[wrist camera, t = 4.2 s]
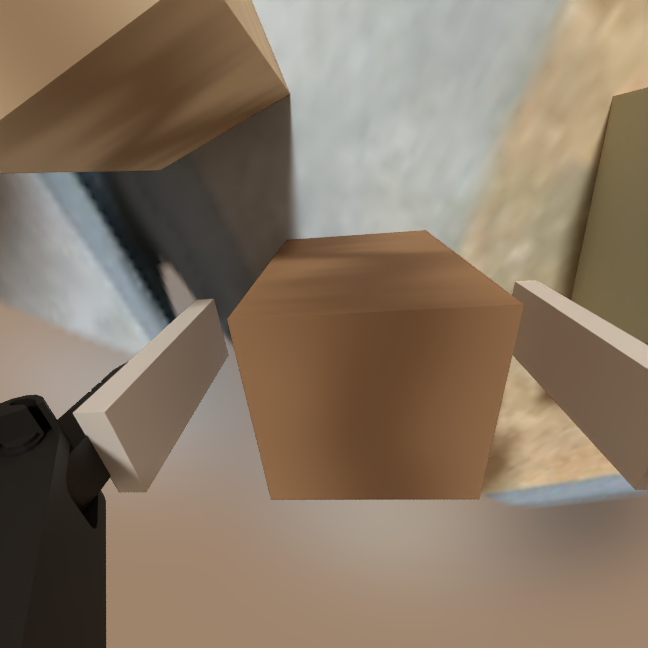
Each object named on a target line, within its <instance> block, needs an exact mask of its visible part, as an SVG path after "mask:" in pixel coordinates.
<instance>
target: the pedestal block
mask: <svg viewBox="0 0 648 648" xmlns="http://www.w3.org/2000/svg"><path fill="white" fill-rule="evenodd" d="M571 301H573V302H575V303H576V304H578V305H580V306H581V307H583V308H585V309H587V310H588V311H590V312H592V313H593V314H595V315H597V316H599V317H600V318H602V319H604V320H605V321H607V322H609V323H611V324H612V325H614V326H616V327H617V328H619V329H621V330H623V331H624V332H626V333H628V334H629V335H631V336H633V337H635V338H636V339H638V340H640V341H642V342H645V343H647V344H648V88H644V89H640V90H636V91H632V92H628V93H624V94H621V95H617V96H613V100H612V104H611V109H610V114H609V119H608V124H607V129H606V133H605V138H604V143H603V148H602V153H601V157H600V162H599V167H598V172H597V177H596V182H595V186H594V191H593V196H592V201H591V206H590V211H589V215H588V220H587V225H586V230H585V235H584V239H583V244H582V249H581V254H580V259H579V264H578V268H577V273H576V278H575V283H574V288H573V292H572V297H571Z"/></svg>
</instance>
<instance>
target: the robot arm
mask: <svg viewBox="0 0 648 648" xmlns="http://www.w3.org/2000/svg"><path fill="white" fill-rule="evenodd" d="M512 296H513V297H515V298H516V299H517V300H519V301H520V302H521V303H523V304H524V306H523V310H522V315H521V319H520V324H519V328H518V332H517V337H516V341H515V345H514V350H513V354H512V355H513V356H514V357H515V358H516V359H517V360H518V361H519V362H520V364H521V365H522V366H523V367H524V368H525V369H526V370H527V371H528V372H529V373H530V375H531V376H532V377H533V378H534V379H535V380H536V381H537V382H538V383H539V384H540V386H541V387H542V388H543V389H544V390H545V391H546V392H547V393H548V394H549V395H550V397H551V398H552V399H553V400H554V401H555V402H556V403H557V404H558V405H559V406H560V408H561V409H562V410H563V411H564V412H565V413H566V414H567V415H568V416H569V417H570V419H571V420H572V421H573V422H574V423H575V424H576V425H577V426H578V427H579V428H580V430H581V431H582V432H583V433H584V434H585V435H586V436H587V437H588V438H589V439H590V441H591V442H592V443H593V444H594V445H595V446H596V447H597V448H598V449H599V450H600V452H601V453H602V454H603V455H604V456H605V457H606V458H607V459H608V460H609V461H610V463H611V464H612V465H613V466H614V467H615V468H616V469H617V470H618V471H619V472H620V474H621V475H622V476H623V477H624V478H625V479H626V480H627V481H628V482H629V483H630V485H631V486H632V487H633V488H634V489H635V490H645V489H648V344H647V343H645V342H642V341H640V340H638V339H636V338H635V337H633V336H631V335H629V334H628V333H626V332H624V331H623V330H621V329H619V328H617V327H616V326H614V325H612V324H611V323H609V322H607V321H605V320H604V319H602V318H600V317H599V316H597V315H595V314H593V313H592V312H590V311H588V310H587V309H585V308H583V307H581V306H580V305H578V304H576V303H575V302H573V301H571V300H569V299H568V298H566V297H564V296H563V295H561V294H559V293H557V292H556V291H554V290H552V289H551V288H549V287H547V286H545V285H544V284H542V283H540V282H539V281H537V280H530V281H515V284H514V289H513V294H512ZM227 357H228V351H227V347H226V343H225V340H224V336H223V332H222V328H221V324H220V320H219V316H218V313H217V309H216V305H215V301H214V299H201V300H195V301H194V302H193V303H192V304H191V305H190V306H189V307H188V308H187V309H185V311H183V312H182V313H181V314H180V315H179V316H178V317H177V318H176V319H175V320H173V321H172V322H171V323H170V324H169V325H168V326H167V327H166V328H165V329H164V330H163V331H161V332H160V333H159V334H158V335H157V336H156V337H155V338H154V339H153V340H152V341H151V342H149V343H148V344H147V345H146V346H145V347H144V348H143V349H142V350H141V351H140V352H139V353H137V354H136V355H135V356H134V357H133V358H132V359H131V360H130V361H128V362H126V363H125V364H123V365H121V366H119V367H118V368H116V369H114V370H113V371H112V372H111V373H109V375H107V376H106V377H105V378H104V379H103V380H102V381H101V383H98V384H97V385H96V386H95V387H94V388H93V389H92V391H91V392H88V393H87V394H86V395H85V396H84V397H83V398H81V399H80V400H79V401H78V402H77V403H76V404H75V405H74V406H72V407H71V408H70V409H69V410H68V411H67V412H66V413H65V414H64V415H62V416H61V417H60V418H59V419H58V420H57V419H56V418H55V416H54V414H53V413H52V411H51V409H50V408H49V406H48V405H47V403H46V401H45V400H44V398H43V397H41V396H38V395H26V396H22V397H18V398H14V399H11V400H8V401H5V402H3V403H0V648H106V500H105V497H104V495H103V493H102V491H101V489H102V487H103V486H104V485H105V483H106V482H107V481H108V479H109V478H111V480H112V481H113V483H114V485H115V486H116V488H117V490H118V491H119V492H147V490H148V488H149V487H150V485H151V484H152V482H153V480H154V479H155V477H156V475H157V473H158V472H159V470H160V469H161V467H162V465H163V464H164V462H165V460H166V459H167V457H168V455H169V454H170V452H171V450H172V449H173V447H174V445H175V444H176V442H177V440H178V439H179V437H180V435H181V434H182V432H183V430H184V429H185V427H186V425H187V424H188V422H189V420H190V419H191V417H192V415H193V414H194V412H195V410H196V409H197V407H198V405H199V403H200V402H201V400H202V399H203V397H204V395H205V393H206V392H207V390H208V388H209V387H210V385H211V383H212V382H213V380H214V378H215V377H216V375H217V373H218V372H219V370H220V368H221V367H222V365H223V363H224V362H225V360H226V358H227Z"/></svg>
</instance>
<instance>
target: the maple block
mask: <svg viewBox="0 0 648 648" xmlns="http://www.w3.org/2000/svg"><path fill="white" fill-rule="evenodd" d="M289 94H290V92H289V90H288V87H287V85H286V83H285V80H284V78H283V75H282V73H281V70H280V68H279V66H278V63H277V61H276V58H275V56H274V53H273V51H272V49H271V46H270V44H269V41H268V39H267V37H266V34H265V32H264V29H263V27H262V24H261V22H260V20H259V17H258V15H257V12H256V10H255V7H254V5H253V3H252V0H0V173H46V172H99V171H152V170H162V169H163V168H165V167H167V166H168V165H170V164H172V163H173V162H175V161H177V160H179V159H180V158H182V157H184V156H185V155H187V154H189V153H190V152H192V151H194V150H196V149H197V148H199V147H201V146H202V145H204V144H206V143H207V142H209V141H211V140H212V139H214V138H216V137H218V136H219V135H221V134H223V133H224V132H226V131H228V130H229V129H231V128H233V127H235V126H236V125H238V124H240V123H241V122H243V121H245V120H246V119H248V118H250V117H251V116H253V115H255V114H257V113H258V112H260V111H262V110H263V109H265V108H267V107H268V106H270V105H272V104H274V103H275V102H277V101H279V100H280V99H282V98H284V97H285V96H287V95H289Z"/></svg>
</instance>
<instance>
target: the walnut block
mask: <svg viewBox="0 0 648 648" xmlns="http://www.w3.org/2000/svg"><path fill="white" fill-rule="evenodd" d="M523 306H524V304H523V303H521V302H520V301H519V300H517V299H516V298H515V297H513V296H512V295H511V294H509V293H508V292H507V291H505V290H504V289H503V288H501V287H500V286H499V285H498V284H496V283H495V282H494V281H492V280H491V279H490V278H488V277H487V276H486V275H484V274H483V273H482V272H480V271H479V270H478V269H476V268H475V267H474V266H472V265H471V264H470V263H468V262H467V261H466V260H464V259H463V258H462V257H460V256H459V255H458V254H456V253H455V252H454V251H452V250H451V249H450V248H448V247H447V246H446V245H444V244H443V243H442V242H440V241H439V240H438V239H437V238H435V237H434V236H433V235H431V234H430V233H429V232H427V231H426V230H423V231H409V232H394V233H380V234H366V235H352V236H338V237H324V238H309V239H295V240H286V242H285V243H284V244H283V246H282V247H281V248H280V250H279V251H278V252H277V254H276V255H275V256H274V258H273V259H272V260H271V262H270V263H269V264H268V265H267V267H266V268H265V269H264V271H263V272H262V273H261V275H260V276H259V277H258V279H257V280H256V281H255V283H254V284H253V285H252V287H251V288H250V289H249V291H248V292H247V293H246V295H245V296H244V297H243V299H242V300H241V301H240V303H239V304H238V305H237V307H236V308H235V309H234V311H233V312H232V313H231V315H230V316H229V317H228V319H227V321H228V325H229V330H230V334H231V338H232V342H233V346H234V350H235V354H236V358H237V362H238V366H239V370H240V375H241V379H242V382H243V387H244V391H245V395H246V399H247V403H248V407H249V411H250V415H251V420H252V423H253V428H254V432H255V436H256V440H257V444H258V448H259V452H260V456H261V460H262V465H263V469H264V473H265V477H266V481H267V485H268V489H269V493H270V497H271V500H308V499H309V500H322V499H323V500H331V499H332V500H333V499H335V500H344V499H345V500H347V499H349V500H353V499H354V500H357V499H359V500H361V499H362V500H363V499H479V498H480V494H481V490H482V485H483V481H484V476H485V472H486V468H487V463H488V459H489V455H490V450H491V446H492V442H493V437H494V433H495V428H496V424H497V420H498V415H499V411H500V407H501V402H502V398H503V393H504V389H505V385H506V380H507V376H508V372H509V367H510V363H511V359H512V354H513V350H514V345H515V341H516V337H517V332H518V328H519V324H520V319H521V315H522V310H523Z"/></svg>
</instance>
